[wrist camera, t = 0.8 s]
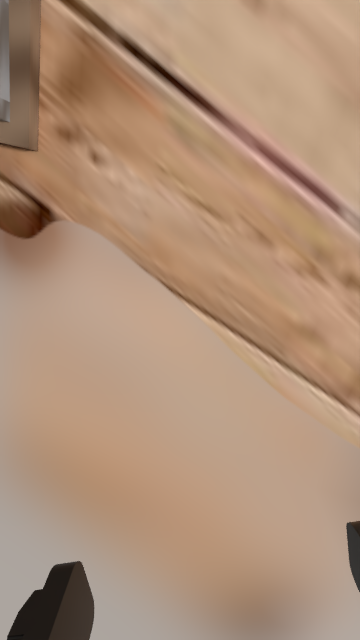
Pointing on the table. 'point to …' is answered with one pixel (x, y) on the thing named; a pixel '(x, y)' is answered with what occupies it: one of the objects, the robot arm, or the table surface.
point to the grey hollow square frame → (19, 72)
